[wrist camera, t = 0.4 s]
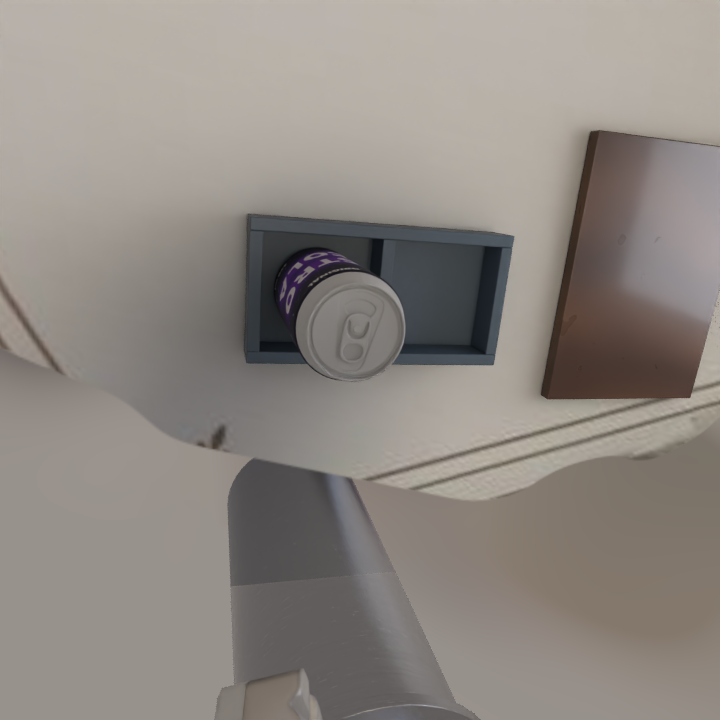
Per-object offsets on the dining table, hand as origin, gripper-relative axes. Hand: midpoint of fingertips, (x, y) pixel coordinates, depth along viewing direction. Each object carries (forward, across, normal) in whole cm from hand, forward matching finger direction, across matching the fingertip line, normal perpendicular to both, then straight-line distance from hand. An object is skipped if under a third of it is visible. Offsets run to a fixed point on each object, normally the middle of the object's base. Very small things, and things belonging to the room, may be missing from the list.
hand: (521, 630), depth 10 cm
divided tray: (+30, +1, -2) cm, 30 cm away
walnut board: (+33, +22, -7) cm, 41 cm away
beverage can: (+30, -3, 0) cm, 30 cm away
